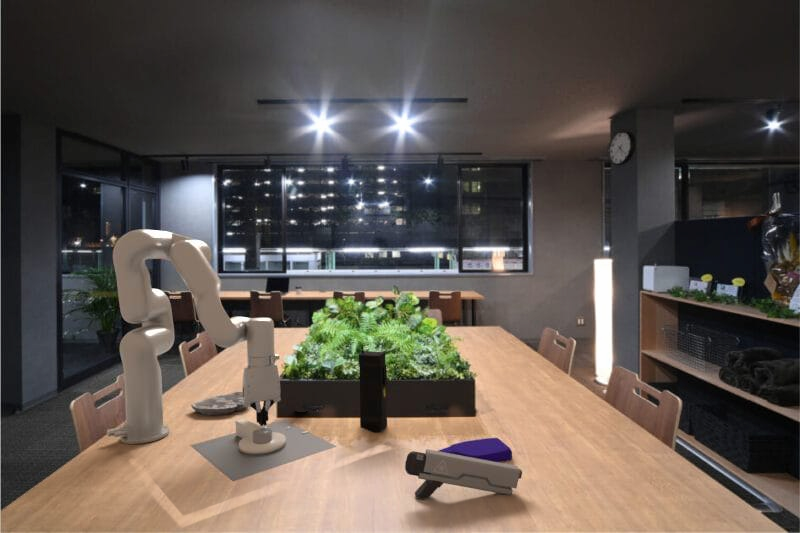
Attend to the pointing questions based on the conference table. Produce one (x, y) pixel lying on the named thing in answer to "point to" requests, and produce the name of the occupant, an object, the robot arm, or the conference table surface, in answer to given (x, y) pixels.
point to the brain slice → (220, 404)
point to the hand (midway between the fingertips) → (262, 423)
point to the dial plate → (242, 465)
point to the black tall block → (373, 391)
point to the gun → (460, 472)
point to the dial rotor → (258, 438)
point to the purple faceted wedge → (482, 449)
